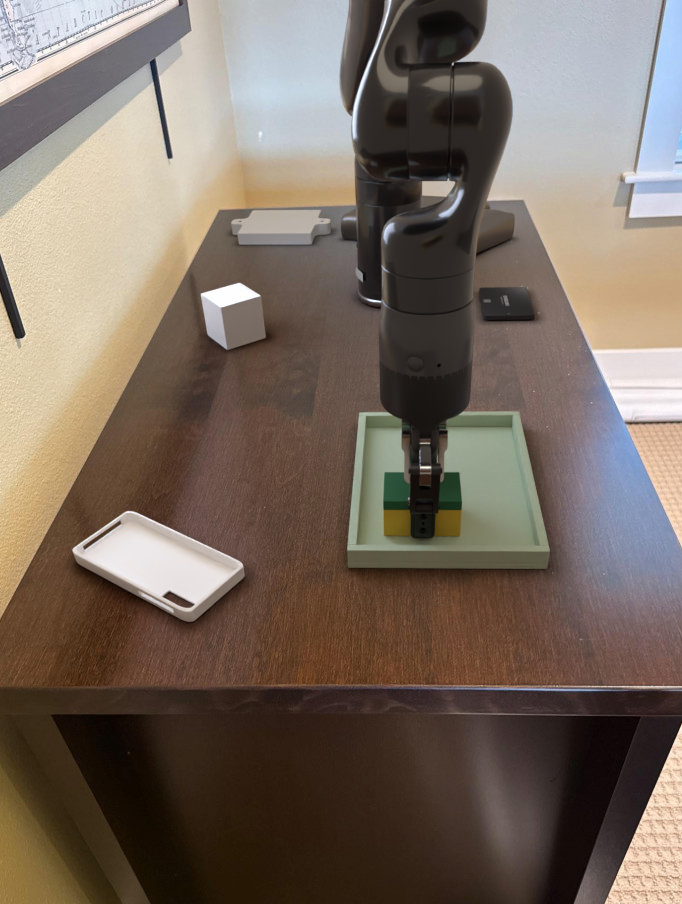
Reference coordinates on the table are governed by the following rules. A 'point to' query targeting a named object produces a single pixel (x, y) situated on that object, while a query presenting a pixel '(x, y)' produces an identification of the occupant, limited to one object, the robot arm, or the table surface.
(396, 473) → the sponge
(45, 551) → the table surface
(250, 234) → the mounting plate
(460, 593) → the table surface
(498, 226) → the grey contoured platform
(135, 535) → the phone case
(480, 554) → the tray
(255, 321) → the white cube
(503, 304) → the solid state drive
